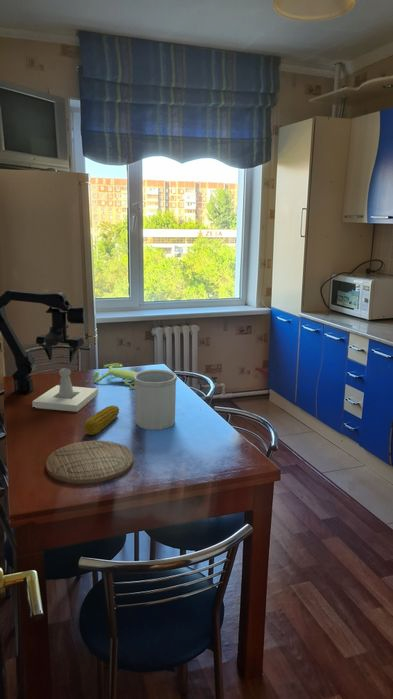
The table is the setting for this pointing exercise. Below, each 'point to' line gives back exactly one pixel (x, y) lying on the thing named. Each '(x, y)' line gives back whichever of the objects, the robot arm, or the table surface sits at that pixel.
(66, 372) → the salt shaker
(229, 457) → the table surface
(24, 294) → the robot arm
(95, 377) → the figurine
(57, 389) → the socket board
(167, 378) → the utensil holder
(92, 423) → the food
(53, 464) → the trivet
